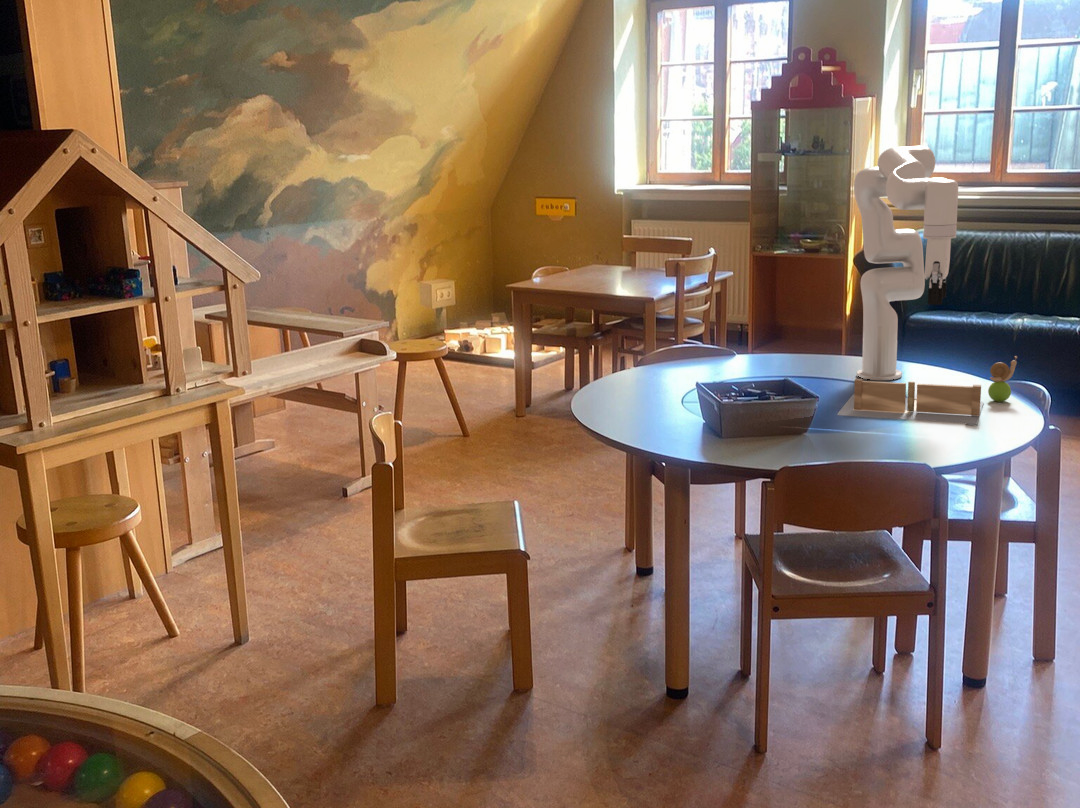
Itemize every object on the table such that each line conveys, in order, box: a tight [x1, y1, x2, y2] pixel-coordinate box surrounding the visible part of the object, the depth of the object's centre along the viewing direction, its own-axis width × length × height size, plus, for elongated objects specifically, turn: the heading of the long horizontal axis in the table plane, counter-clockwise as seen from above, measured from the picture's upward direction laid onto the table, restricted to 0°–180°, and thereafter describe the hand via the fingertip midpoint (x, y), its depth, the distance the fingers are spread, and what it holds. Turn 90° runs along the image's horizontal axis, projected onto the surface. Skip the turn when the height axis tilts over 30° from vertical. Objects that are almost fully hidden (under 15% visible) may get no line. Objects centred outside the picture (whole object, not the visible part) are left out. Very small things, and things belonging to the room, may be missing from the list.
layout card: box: [836, 394, 984, 426], centre depth 264 cm, size 22×33×1 cm, turn 63°
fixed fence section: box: [853, 378, 907, 412], centre depth 263 cm, size 2×12×8 cm, turn 63°
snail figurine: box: [987, 355, 1018, 403], centre depth 266 cm, size 5×6×12 cm
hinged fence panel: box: [907, 381, 982, 417], centre depth 256 cm, size 2×17×7 cm, turn 63°
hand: (937, 301), depth 255 cm, fingers open, 9 cm apart
